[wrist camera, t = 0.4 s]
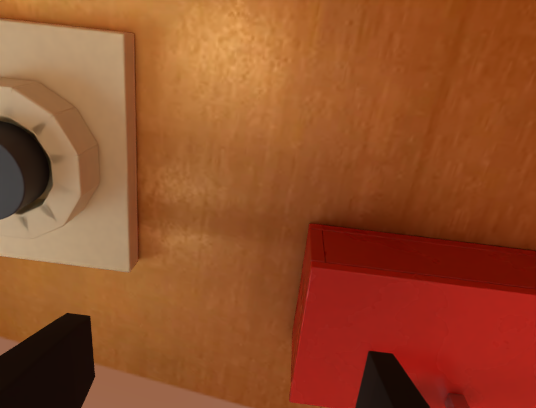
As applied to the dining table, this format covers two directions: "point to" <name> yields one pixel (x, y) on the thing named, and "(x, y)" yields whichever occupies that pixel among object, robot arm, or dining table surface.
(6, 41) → the dial knob panel
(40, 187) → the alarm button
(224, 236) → the dining table surface
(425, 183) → the dining table surface
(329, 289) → the red box lid
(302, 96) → the dining table surface
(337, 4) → the dining table surface
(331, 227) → the red rectangular open box
